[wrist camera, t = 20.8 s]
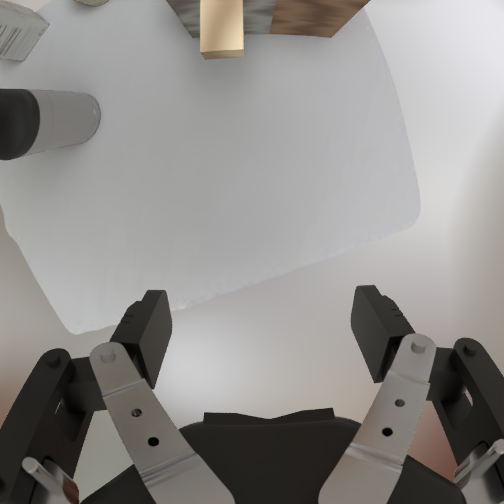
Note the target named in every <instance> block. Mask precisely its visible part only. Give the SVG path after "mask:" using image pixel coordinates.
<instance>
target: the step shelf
mask: <svg viewBox="0 0 504 504" xmlns="http://www.w3.org/2000/svg"><path fill="white" fill-rule="evenodd" d="M166 1H167V2H168V3H169V5H170V6H171V7H172V9H173V10H174V12H175V13H176V14H177V16H178V17H179V19H180V20H181V22H182V23H183V24H184V26H185V27H186V29H187V30H188V32H189V33H190V34H191V36H192V37H193V38H194V37H200V0H166ZM369 1H370V0H243V30H244V34H290V35H307V36H319V37H329V38H331V37H332V36H333V35H334V34H335V33H336V32H337V31H338V30H339V29H340V28H342V27H343V26H344V25H345V24H346V23H347V22H348V21H349V20H350V19H351V18H352V17H353V16H354V15H355V14H356V13H357V12H358V11H359V10H360V9H361V8H363V7H364V6H365V5H366V4H367V3H368V2H369Z"/></svg>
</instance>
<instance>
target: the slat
mask: <svg viewBox="0 0 504 504" xmlns="http://www.w3.org/2000/svg"><path fill="white" fill-rule="evenodd" d="M200 53H201V54H202V55H203V57H204V58H205V59H218V58H236V57H244V30H243V0H200Z"/></svg>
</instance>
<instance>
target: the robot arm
mask: <svg viewBox="0 0 504 504" xmlns="http://www.w3.org/2000/svg"><path fill="white" fill-rule="evenodd" d="M99 121H100V109H99V106H98V103H97V102H96V100H95V99H94V98H93V97H92V96H90V95H88V94H84V93H75V92H65V91H51V90H30V89H0V160H11V159H15V158H19V157H23V156H26V155H30V154H34V153H38V152H42V151H46V150H51V149H55V148H60V147H65V146H70V145H75V144H80V143H83V142H86V141H87V140H88V139H90V138H91V137H92V136H93V135H94V133H95V132H96V130H97V128H98V125H99ZM120 322H121V323H119V325H118V327H117V328H116V330H115V332H114V334H113V335H112V337H111V339H110V341H109V342H106V343H103V344H100V345H98V346H96V347H95V348H94V349H93V350H92V352H91V353H90V356H89V357H83V358H76V359H71V357H70V355H69V353H68V352H67V351H66V350H65V349H61V348H57V349H52V350H49V351H47V352H46V353H44V354H43V355H42V356H41V357H40V359H39V361H38V362H37V364H36V366H35V367H34V369H33V370H32V372H31V374H30V375H29V377H28V379H27V381H26V382H25V384H24V386H23V388H22V389H21V391H20V393H19V395H18V397H17V398H16V400H15V402H14V404H13V406H12V408H11V410H10V411H9V413H8V415H7V417H6V419H5V421H4V423H3V425H2V427H1V429H0V504H79V489H78V487H77V485H76V483H75V482H74V481H73V477H74V473H75V470H76V466H77V463H78V459H79V456H80V453H81V450H82V447H83V443H84V440H85V437H86V434H87V431H88V428H89V425H90V422H91V419H92V416H93V413H94V411H100V410H108V412H109V414H110V416H111V418H112V421H113V423H114V425H115V427H116V429H117V431H118V433H119V436H120V438H121V440H122V442H123V444H124V446H125V448H126V450H127V452H128V453H129V455H130V457H131V459H132V461H133V463H134V464H133V465H131V466H130V467H129V468H127V469H126V470H125V471H123V472H122V473H121V474H119V475H118V476H116V477H115V478H114V479H112V480H111V481H110V482H108V483H107V484H105V485H104V486H102V487H101V488H100V489H98V490H97V491H95V492H94V493H93V494H91V495H89V496H88V497H87V498H86V499H84V500H83V501H82V502H81V503H80V504H504V377H503V375H502V374H501V372H500V371H499V369H498V368H497V366H496V365H495V363H494V362H493V360H492V359H491V358H490V356H489V354H488V353H487V352H486V350H485V349H484V347H483V346H482V345H481V344H480V343H479V342H477V341H476V340H473V339H471V338H461V339H458V340H457V341H456V342H455V345H454V347H453V349H452V348H439V347H436V345H435V343H434V342H433V341H432V340H431V339H430V338H429V337H427V336H425V335H422V334H416V333H415V331H414V330H413V328H412V327H411V325H410V324H409V322H408V321H407V319H406V318H405V317H404V316H403V313H402V312H401V311H400V310H399V308H398V306H397V305H396V304H395V302H394V301H393V300H391V299H390V298H388V297H387V296H382V295H381V294H380V292H379V291H378V289H377V288H376V286H375V285H364V286H357V287H356V290H355V296H354V302H353V308H352V313H351V328H352V331H353V333H354V336H355V338H356V340H357V343H358V345H359V347H360V350H361V352H362V354H363V357H364V359H365V362H366V364H367V366H368V369H369V371H370V374H371V376H372V379H373V381H374V383H380V382H383V383H382V386H381V387H380V390H379V392H378V394H377V396H376V398H375V400H374V402H373V404H372V406H371V408H370V410H369V412H368V413H367V415H366V417H365V419H364V421H363V423H362V424H361V423H359V422H356V421H354V420H351V419H347V418H342V417H335V415H334V411H333V408H325V409H315V410H304V411H299V412H295V413H292V414H288V415H285V416H281V417H277V418H273V419H264V418H259V417H253V416H248V415H243V414H238V413H207V412H206V413H204V419H203V421H202V422H197V423H193V424H190V425H187V426H185V427H183V428H180V429H177V427H176V426H175V425H174V423H173V422H172V420H171V419H170V417H169V416H168V414H167V413H166V411H165V410H164V408H163V407H162V406H161V404H160V402H159V401H158V399H157V398H156V396H155V394H154V393H153V391H152V390H151V389H154V388H155V384H156V381H157V377H158V375H159V371H160V368H161V365H162V362H163V358H164V356H165V352H166V349H167V346H168V343H169V340H170V337H171V333H172V319H171V314H170V308H169V303H168V298H167V293H166V291H165V290H147V292H146V294H145V295H144V297H143V299H142V301H136V302H135V303H133V304H132V305H131V306H130V307H128V309H127V311H126V312H125V314H124V317H123V318H122V319H121V321H120ZM466 389H467V390H468V392H469V393H470V395H471V397H472V401H473V406H471V404H470V402H469V400H468V398H467V396H466V394H465V391H466ZM426 400H429V401H432V403H433V405H434V407H435V409H436V412H437V414H438V417H439V419H440V421H441V424H442V426H443V428H444V431H445V434H446V436H447V439H448V441H449V444H450V446H451V449H452V452H453V454H454V457H455V460H456V463H457V466H458V467H457V469H456V471H455V474H454V481H455V483H452V482H451V481H449V480H448V479H446V478H444V477H443V476H441V475H439V474H438V473H436V472H434V471H433V470H431V469H430V468H428V467H426V466H424V465H423V464H422V463H420V462H418V461H417V460H415V459H414V458H412V457H411V456H409V455H407V452H408V450H409V447H410V445H411V442H412V439H413V437H414V434H415V431H416V428H417V425H418V422H419V420H420V417H421V414H422V411H423V407H424V404H425V401H426ZM59 402H60V405H59ZM58 405H59V407H58ZM57 407H58V409H57ZM56 409H57V412H56ZM55 412H56V414H55Z"/></svg>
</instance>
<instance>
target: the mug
mask: <svg viewBox="0 0 504 504" xmlns="http://www.w3.org/2000/svg"><path fill="white" fill-rule="evenodd" d="M75 1H78V2H81V3H84V4H87V5H90V6H99V5H102V4H104V3H105V2H107V1H108V0H75Z"/></svg>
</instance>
